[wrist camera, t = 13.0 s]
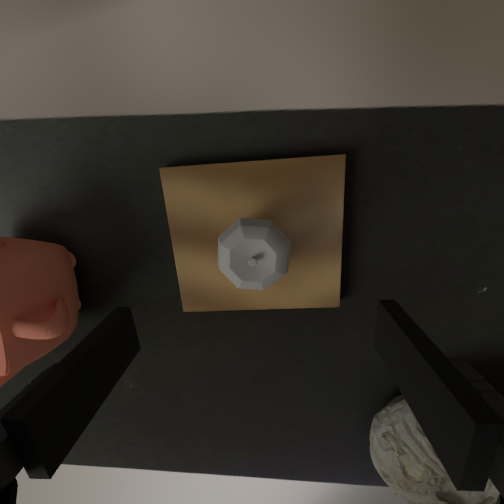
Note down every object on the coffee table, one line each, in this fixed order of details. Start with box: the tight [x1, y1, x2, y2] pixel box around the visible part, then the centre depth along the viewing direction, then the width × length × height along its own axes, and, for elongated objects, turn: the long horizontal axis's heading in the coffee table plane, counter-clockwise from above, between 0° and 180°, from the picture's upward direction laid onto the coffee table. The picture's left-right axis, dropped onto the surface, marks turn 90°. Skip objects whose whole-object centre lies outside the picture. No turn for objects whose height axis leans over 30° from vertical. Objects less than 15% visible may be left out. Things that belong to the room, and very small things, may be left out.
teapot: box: [0, 237, 81, 387], centre depth 30 cm, size 17×16×13 cm
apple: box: [218, 218, 291, 290], centre depth 28 cm, size 8×8×7 cm
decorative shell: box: [370, 395, 499, 504], centre depth 35 cm, size 18×18×10 cm
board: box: [159, 154, 346, 312], centre depth 31 cm, size 18×20×2 cm
